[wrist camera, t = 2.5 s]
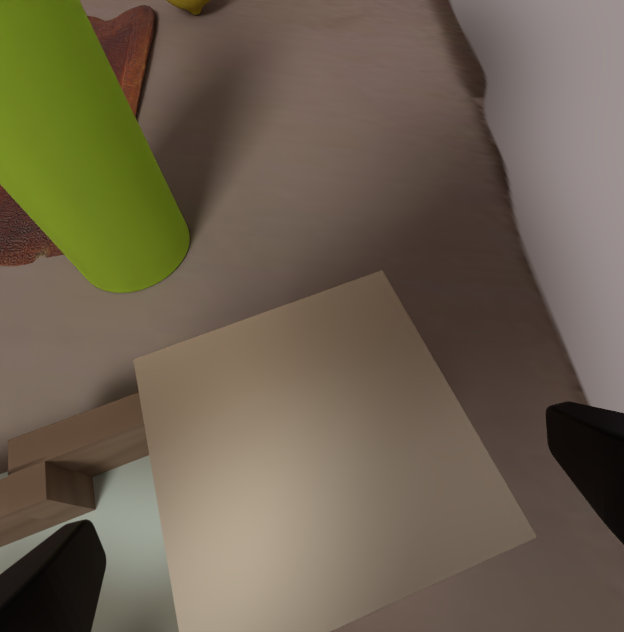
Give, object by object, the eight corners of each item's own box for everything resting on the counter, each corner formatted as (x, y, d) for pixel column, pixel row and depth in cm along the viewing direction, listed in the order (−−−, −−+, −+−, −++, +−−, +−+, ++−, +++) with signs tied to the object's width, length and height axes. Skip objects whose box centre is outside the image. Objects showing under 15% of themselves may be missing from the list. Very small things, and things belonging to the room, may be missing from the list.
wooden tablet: (49, 32, 37) (37, 11, 36) (162, 17, 37) (155, -5, 35) (-61, 282, 24) (-87, 263, 22) (117, 261, 23) (102, 241, 22)
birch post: (418, 553, 15) (537, 537, 5) (296, 607, 14) (189, 695, 5) (365, 433, 17) (381, 269, 8) (258, 476, 17) (132, 358, 7)
